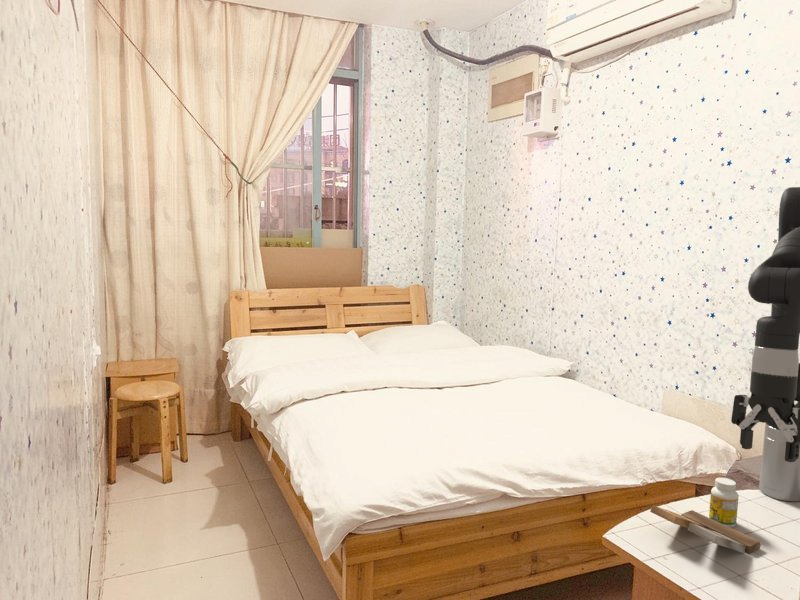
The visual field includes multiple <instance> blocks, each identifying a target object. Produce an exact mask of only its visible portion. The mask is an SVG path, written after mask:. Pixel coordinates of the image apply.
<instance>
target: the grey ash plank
mask: <svg viewBox="0 0 800 600" xmlns="http://www.w3.org/2000/svg"><path fill="white" fill-rule="evenodd" d="M687 531H689V532H690V533H692V534H694V535H696V536H698V537H700V538H703V539H705V540H706V541H709V542H711V543H713V544H715V545H718V546H722V547H724V548H728V549H731V550H734V551H736V552H740V553H742V554H744V553H745V552H744V551H745V548H746V545H744V544H742V543H739V542H737V541H735V540H733V539H731V538H729V537H727V536H725V535H723V534H720V533H718V532H715V531H712V530H709V529H706V528H703V527H700V526H697V525H695V524H692V523H690V524H689V527H688V528H687Z"/></svg>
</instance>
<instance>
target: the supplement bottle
mask: <svg viewBox="0 0 800 600" xmlns="http://www.w3.org/2000/svg"><path fill="white" fill-rule="evenodd" d="M736 488H737V482H736V481H734V480H733V479H731V478H728V477H717V478H715V480H714V486H713V487H712V488H711V491H710V500H709V509H708V510H709V512H708V518H710V519H713V520H715V521H717V522H719V523H721V524H724V525H726V526H728V527H730V528H734V527H735V526H737V525H736V524H737V517H738V507H739V494H738V492H737V491H736Z"/></svg>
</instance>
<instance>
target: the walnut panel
mask: <svg viewBox="0 0 800 600" xmlns="http://www.w3.org/2000/svg"><path fill="white" fill-rule="evenodd" d="M680 515H682V516H684V517H687V518H689V519H691V520H693V521H695V522H697V523H699V524H701V525H703V526H706V529H709V530H712V531H715V532H718V533H720V534H723V535H725V536H727V537H729V538H731V539H733V540H735V541H737V542H739V543H742V544H744V545H746V548H745V551H744V553H746V554H748V555H750V554H752V553H754V552H755V551H758V550H760V549H761V540H759V539H756V538H755V537H752V536H750V535H747V534H745V533H743V532H741V531H738V530H736V529H734V528H733V527H731V528H730V527H728V526H726V525H724V524H721V523H719V522H717V521H715V520H713V519H710V518H709V516H706V515H705V514H701V513H699V512H697V511H695V510H692V509H691V510H688V511H685V512H684V513H681V514H680Z"/></svg>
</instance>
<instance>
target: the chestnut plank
mask: <svg viewBox="0 0 800 600" xmlns="http://www.w3.org/2000/svg"><path fill="white" fill-rule="evenodd" d="M650 513H652V514H654V515H656V516H658V517H660V518H661V519H664V520H666V521H668V522H670V523H671V524H674V525H677V526H680V527H683V528H687V529H688V527H689V524H690V523H692V524H695V525H697V526H700V527H703V528H706V526H703V525H701V524H699V523H697V522H695V521H693V520H691V519H689V518H687V517H684V516H682V515H681V514H679V513H677V512H673V511H670V510H668V509H666V508H663V507H659V506H657V505H654V504H652V505H651V508H650Z"/></svg>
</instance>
